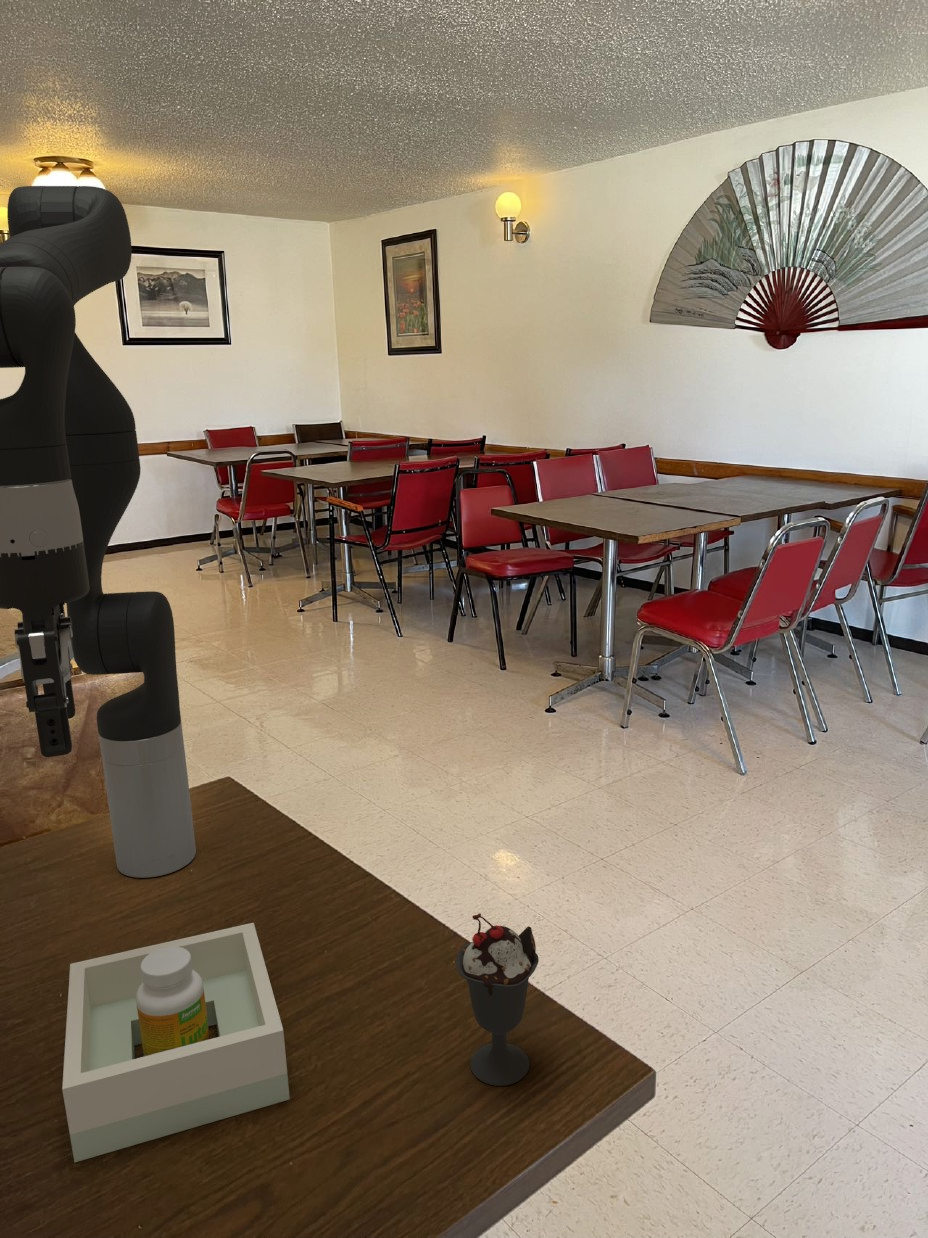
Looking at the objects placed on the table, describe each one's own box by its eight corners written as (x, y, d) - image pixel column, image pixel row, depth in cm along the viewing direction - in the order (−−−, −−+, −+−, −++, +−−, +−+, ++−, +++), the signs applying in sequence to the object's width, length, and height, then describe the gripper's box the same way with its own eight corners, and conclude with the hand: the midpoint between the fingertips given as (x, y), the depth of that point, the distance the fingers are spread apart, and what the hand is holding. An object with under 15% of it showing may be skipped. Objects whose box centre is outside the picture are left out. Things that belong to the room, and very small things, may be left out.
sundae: (448, 1084, 74) (441, 921, 70) (475, 1030, 80) (471, 877, 77) (526, 1104, 72) (524, 936, 68) (548, 1047, 78) (547, 890, 74)
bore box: (80, 1026, 82) (70, 963, 81) (259, 982, 88) (253, 922, 86) (74, 1162, 68) (62, 1089, 66) (289, 1099, 73) (283, 1030, 71)
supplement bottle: (191, 1087, 75) (178, 984, 72) (132, 1079, 76) (118, 976, 73) (222, 1042, 80) (211, 944, 77) (166, 1035, 81) (153, 938, 79)
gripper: (-12, 531, 76) (17, 714, 80) (-37, 560, 63) (0, 776, 67) (84, 524, 79) (108, 702, 83) (80, 550, 66) (108, 759, 70)
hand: (60, 735), depth 75 cm, fingers open, 8 cm apart
